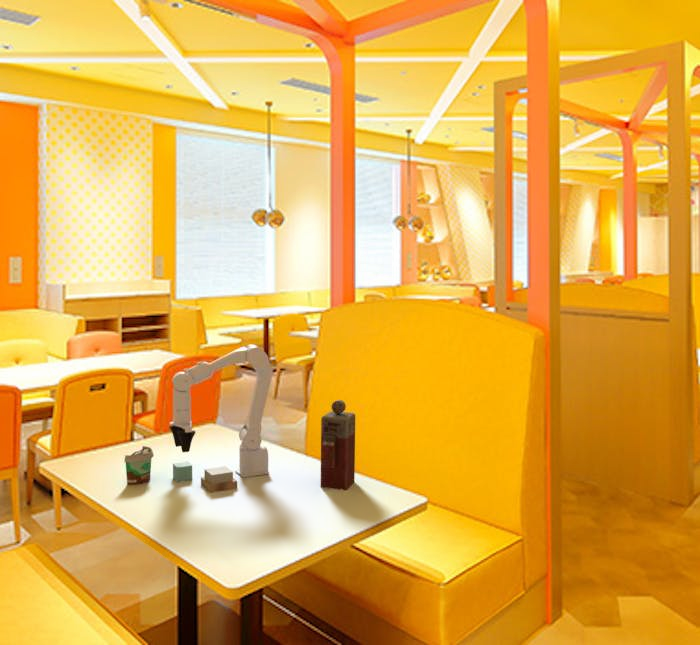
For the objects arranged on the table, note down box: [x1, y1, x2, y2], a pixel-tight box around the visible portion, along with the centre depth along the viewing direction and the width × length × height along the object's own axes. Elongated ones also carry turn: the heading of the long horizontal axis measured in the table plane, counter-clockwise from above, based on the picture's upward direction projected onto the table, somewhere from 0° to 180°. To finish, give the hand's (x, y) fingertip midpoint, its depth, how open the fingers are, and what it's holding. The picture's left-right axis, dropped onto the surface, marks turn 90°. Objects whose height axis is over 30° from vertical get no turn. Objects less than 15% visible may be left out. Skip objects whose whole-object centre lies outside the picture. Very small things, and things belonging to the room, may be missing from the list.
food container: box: [123, 445, 155, 486], centre depth 223 cm, size 12×6×10 cm, turn 168°
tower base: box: [200, 476, 238, 494], centre depth 219 cm, size 9×9×3 cm
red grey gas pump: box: [320, 399, 356, 491], centre depth 220 cm, size 9×11×28 cm
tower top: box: [204, 465, 234, 484], centre depth 218 cm, size 7×7×3 cm
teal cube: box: [172, 461, 193, 483], centre depth 226 cm, size 5×5×5 cm
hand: (182, 448), depth 225 cm, fingers open, 7 cm apart
